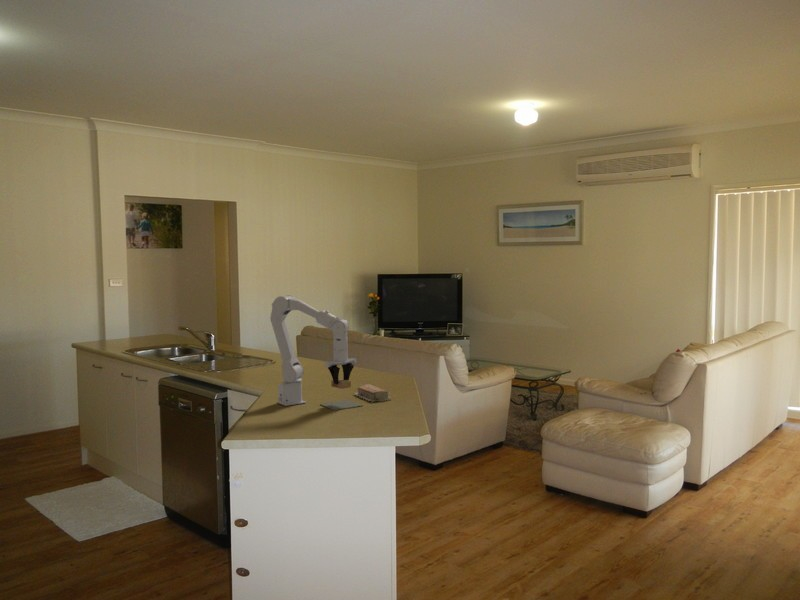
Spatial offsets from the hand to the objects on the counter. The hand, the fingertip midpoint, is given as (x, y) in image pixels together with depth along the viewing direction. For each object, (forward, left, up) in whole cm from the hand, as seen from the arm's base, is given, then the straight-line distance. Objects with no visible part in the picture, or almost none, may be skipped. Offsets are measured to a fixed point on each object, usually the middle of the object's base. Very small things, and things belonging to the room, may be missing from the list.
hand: (341, 382), depth 263 cm
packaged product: (+18, +5, -10) cm, 21 cm away
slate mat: (-1, -1, -9) cm, 9 cm away
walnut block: (0, 0, -2) cm, 2 cm away
